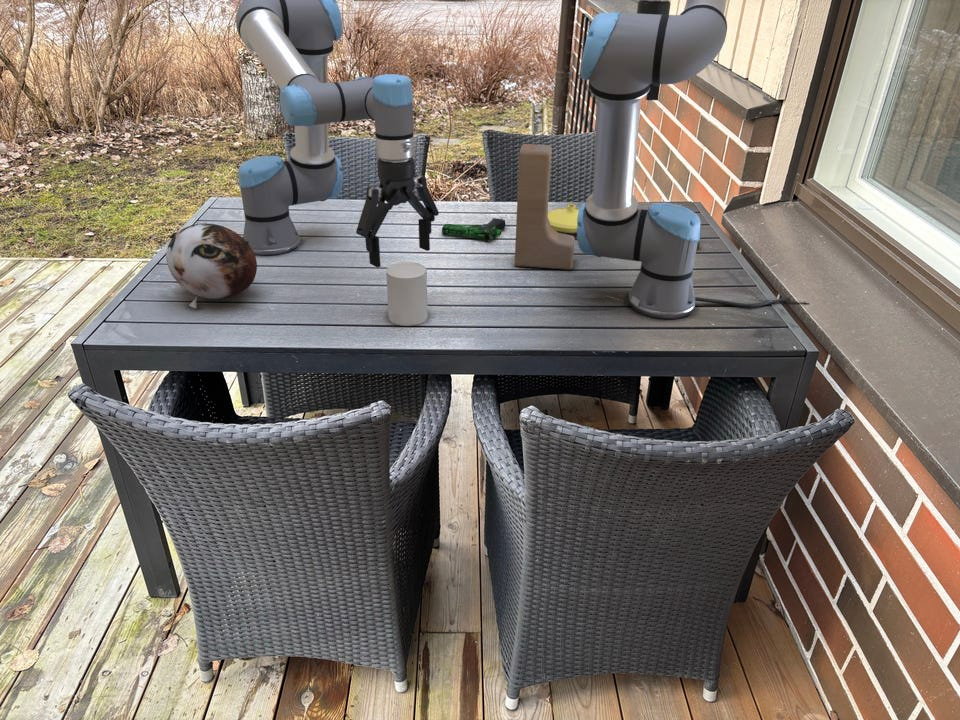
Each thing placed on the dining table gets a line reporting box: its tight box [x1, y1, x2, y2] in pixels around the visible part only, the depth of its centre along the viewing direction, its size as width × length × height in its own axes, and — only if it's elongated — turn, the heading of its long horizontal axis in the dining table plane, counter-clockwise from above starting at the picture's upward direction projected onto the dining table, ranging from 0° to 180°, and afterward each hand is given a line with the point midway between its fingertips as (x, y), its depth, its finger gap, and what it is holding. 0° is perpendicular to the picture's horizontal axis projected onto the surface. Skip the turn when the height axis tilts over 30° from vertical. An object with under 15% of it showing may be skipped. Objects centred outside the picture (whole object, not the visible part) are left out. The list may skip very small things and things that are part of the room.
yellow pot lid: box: [547, 203, 580, 234], centre depth 209 cm, size 16×16×7 cm
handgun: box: [441, 217, 506, 242], centre depth 207 cm, size 16×3×15 cm
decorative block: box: [514, 143, 576, 271], centre depth 181 cm, size 8×15×30 cm, turn 82°
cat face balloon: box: [165, 222, 258, 309], centre depth 165 cm, size 22×18×20 cm
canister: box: [385, 261, 429, 327], centre depth 159 cm, size 9×9×12 cm
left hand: (400, 257), depth 154 cm, fingers open, 13 cm apart
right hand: (642, 94), depth 178 cm, fingers open, 13 cm apart
